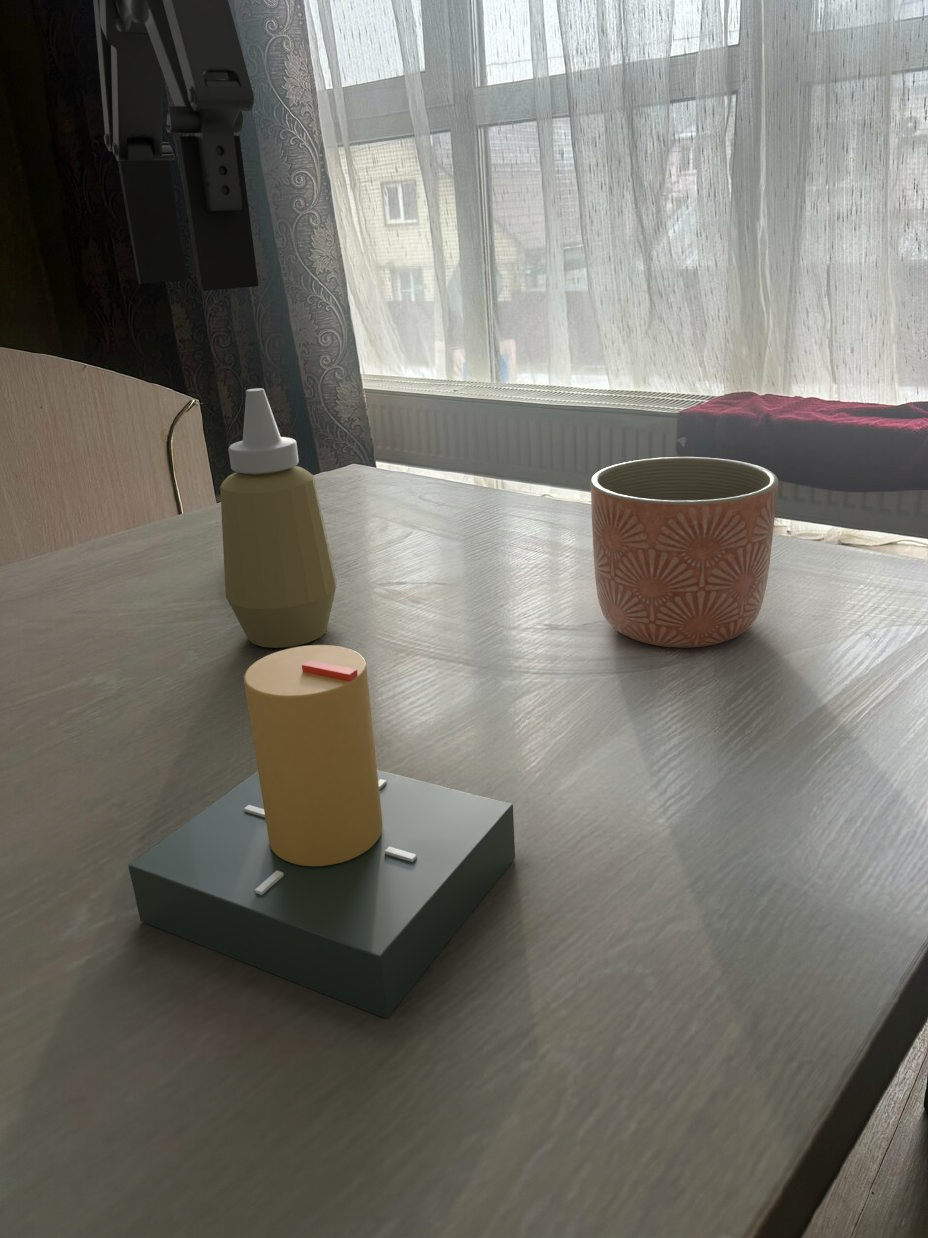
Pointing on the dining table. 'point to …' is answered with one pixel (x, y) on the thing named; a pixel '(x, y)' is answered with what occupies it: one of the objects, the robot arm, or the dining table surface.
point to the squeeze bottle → (274, 537)
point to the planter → (682, 547)
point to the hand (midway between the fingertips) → (192, 285)
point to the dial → (315, 753)
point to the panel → (331, 889)
